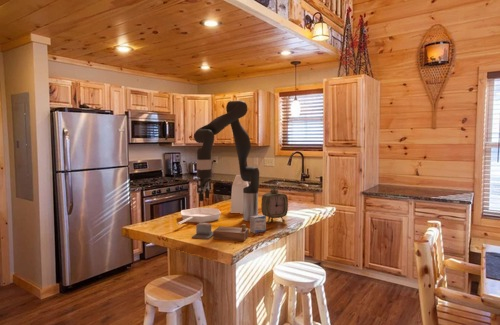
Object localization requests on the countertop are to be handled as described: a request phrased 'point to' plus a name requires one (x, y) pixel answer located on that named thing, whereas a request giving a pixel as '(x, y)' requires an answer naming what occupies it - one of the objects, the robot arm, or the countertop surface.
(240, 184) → the milk
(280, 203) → the tabletop clock
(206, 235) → the rubber mat
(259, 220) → the medicine box
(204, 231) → the lever cap
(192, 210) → the pan
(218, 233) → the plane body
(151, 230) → the countertop surface
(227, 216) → the countertop surface
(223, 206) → the countertop surface
